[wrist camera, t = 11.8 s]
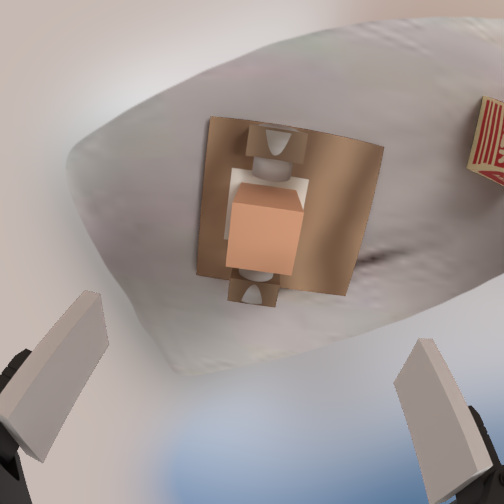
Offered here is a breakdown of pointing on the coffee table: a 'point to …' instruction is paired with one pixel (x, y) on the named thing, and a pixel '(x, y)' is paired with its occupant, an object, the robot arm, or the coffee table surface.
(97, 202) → the coffee table surface
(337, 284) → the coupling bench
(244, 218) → the block
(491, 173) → the milk carton
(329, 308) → the coffee table surface
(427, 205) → the coffee table surface
